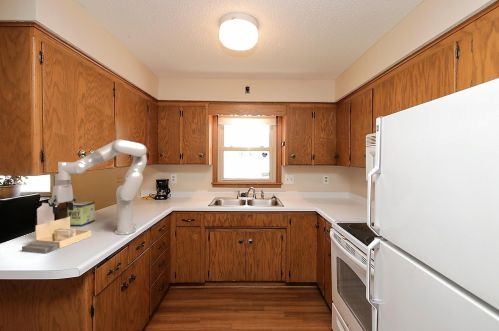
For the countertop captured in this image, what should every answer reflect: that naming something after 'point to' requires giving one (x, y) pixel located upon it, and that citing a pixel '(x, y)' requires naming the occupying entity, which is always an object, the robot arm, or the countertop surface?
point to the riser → (39, 248)
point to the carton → (47, 229)
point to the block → (64, 234)
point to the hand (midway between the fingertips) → (63, 211)
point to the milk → (45, 214)
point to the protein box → (82, 213)
